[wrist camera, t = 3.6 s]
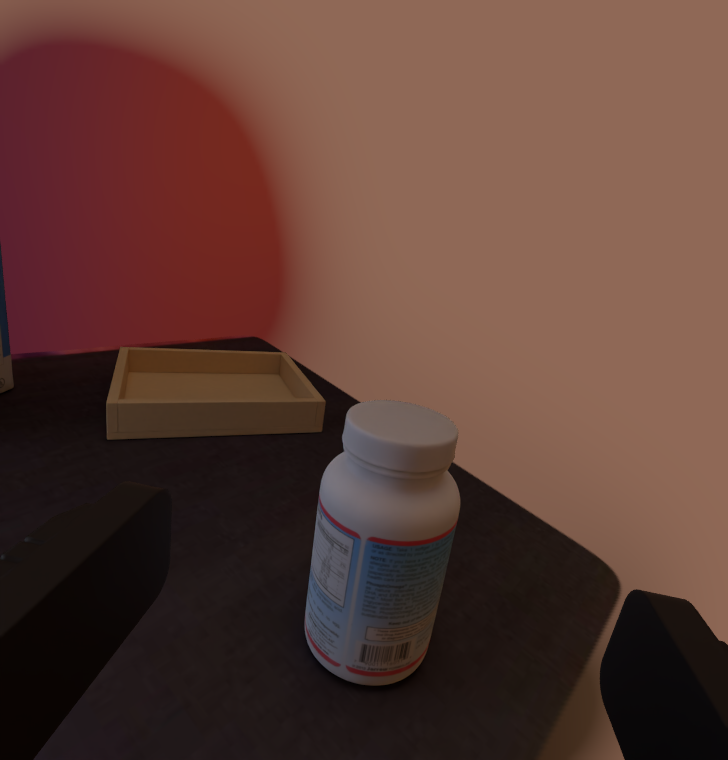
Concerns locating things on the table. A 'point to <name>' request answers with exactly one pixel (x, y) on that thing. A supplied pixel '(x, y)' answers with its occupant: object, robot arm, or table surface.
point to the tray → (209, 394)
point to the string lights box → (4, 340)
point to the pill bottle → (382, 542)
